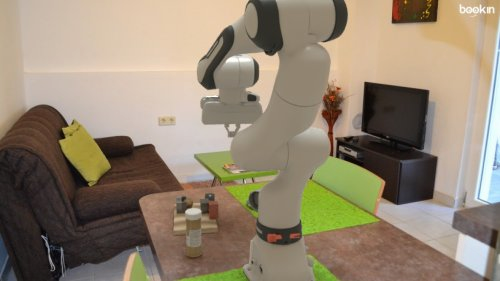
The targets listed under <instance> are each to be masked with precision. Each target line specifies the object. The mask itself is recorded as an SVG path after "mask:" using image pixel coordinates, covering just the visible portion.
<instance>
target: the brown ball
mask: <svg viewBox="0 0 500 281" xmlns="http://www.w3.org/2000/svg"><path fill="white" fill-rule="evenodd" d="M184 201H187V208H191V207H192V206H193V203H194V201H193V199H191V198H187V197H186V199H185V200H184ZM184 201H183V202H184Z"/></svg>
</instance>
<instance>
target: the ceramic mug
mask: <svg viewBox="0 0 500 281" xmlns="http://www.w3.org/2000/svg"><path fill="white" fill-rule="evenodd" d="M260 190H261V188H258V189H255V190H252V191H251V192H250V193H249V195H248V199H247V200H246V201H245V203H246V205H247V206H250V208H252V210H253V211H256V212H258V196H259V192H260Z"/></svg>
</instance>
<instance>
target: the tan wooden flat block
mask: <svg viewBox="0 0 500 281" xmlns="http://www.w3.org/2000/svg"><path fill="white" fill-rule="evenodd" d="M185 199H187V195H176V200H175V201H176V202H175V203H176V204H174V206H173V210H174V211H173V236H179V235H182V236H183V235H186V218H185V211H186V210H188V209H191V208H197V209H200V202H196V203H195V202H193V206H192V207H191V208H187V201H184V200H185ZM183 201H184V202H183ZM201 213H202V217H201V234H209V233H211V234H212V233H219V232H218V231H219V227H218V224H217V223H218V222H217V218H211V219H209V211H201Z"/></svg>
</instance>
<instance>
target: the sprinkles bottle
mask: <svg viewBox="0 0 500 281" xmlns="http://www.w3.org/2000/svg"><path fill="white" fill-rule="evenodd" d="M201 217H202V213H201V210H200V209H197V208H191V209H188V210H186V211H185V218H186V234H185V239H186V240H185V243H186V253H185V255H186V256H187V257H188V258H198V257H201V255H202V254H203V252H202V239H203V238H202V233H201Z"/></svg>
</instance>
